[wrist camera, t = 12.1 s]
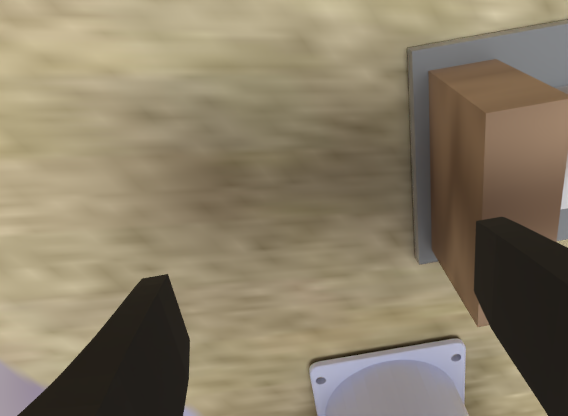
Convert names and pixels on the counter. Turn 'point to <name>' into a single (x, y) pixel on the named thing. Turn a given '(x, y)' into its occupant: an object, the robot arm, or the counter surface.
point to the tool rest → (499, 45)
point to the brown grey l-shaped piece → (493, 161)
